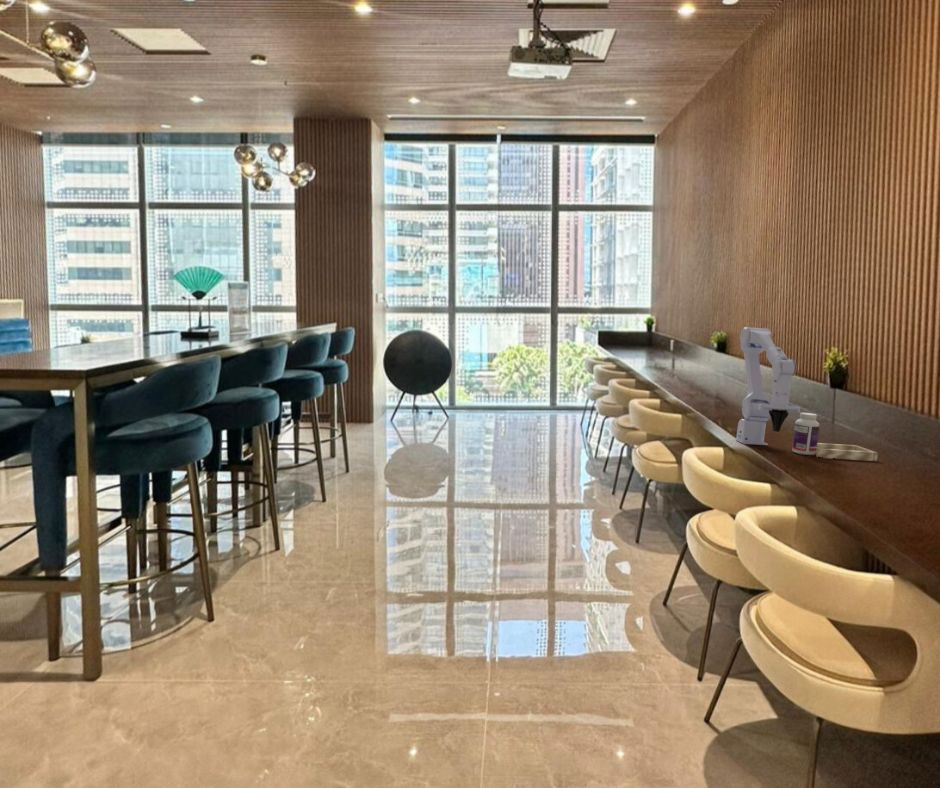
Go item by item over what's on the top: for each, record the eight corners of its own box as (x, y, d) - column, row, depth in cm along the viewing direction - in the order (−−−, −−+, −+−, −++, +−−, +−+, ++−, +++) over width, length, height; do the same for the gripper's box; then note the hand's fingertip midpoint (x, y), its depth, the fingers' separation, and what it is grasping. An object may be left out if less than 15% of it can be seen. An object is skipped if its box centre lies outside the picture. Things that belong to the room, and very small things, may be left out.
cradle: (818, 457, 275) (819, 449, 275) (800, 449, 288) (801, 441, 288) (876, 461, 277) (877, 452, 277) (855, 453, 290) (857, 445, 289)
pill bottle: (811, 452, 285) (816, 413, 283) (818, 456, 277) (824, 416, 275) (788, 450, 286) (793, 411, 284) (795, 454, 278) (800, 414, 276)
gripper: (766, 393, 273) (761, 431, 275) (806, 396, 274) (801, 434, 276) (757, 390, 280) (752, 428, 282) (796, 393, 281) (791, 430, 283)
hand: (776, 431), depth 280 cm, fingers closed
